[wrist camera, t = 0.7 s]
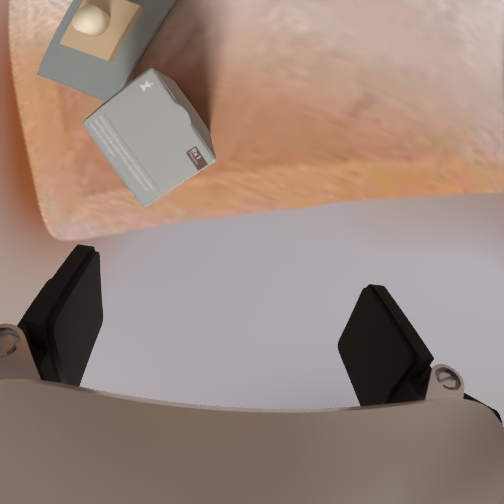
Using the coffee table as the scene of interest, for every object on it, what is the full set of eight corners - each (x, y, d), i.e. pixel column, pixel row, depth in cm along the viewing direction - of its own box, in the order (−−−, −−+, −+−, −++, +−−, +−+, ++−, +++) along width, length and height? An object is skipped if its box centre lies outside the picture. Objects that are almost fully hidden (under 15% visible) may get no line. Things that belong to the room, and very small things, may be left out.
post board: (102, -37, 22) (83, -55, 16) (185, -13, 26) (178, -32, 20) (40, 74, 28) (12, 74, 22) (116, 105, 31) (97, 108, 26)
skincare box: (128, 110, 32) (68, 124, 18) (179, 74, 31) (149, 59, 17) (167, 167, 36) (135, 217, 22) (219, 133, 35) (219, 161, 21)
